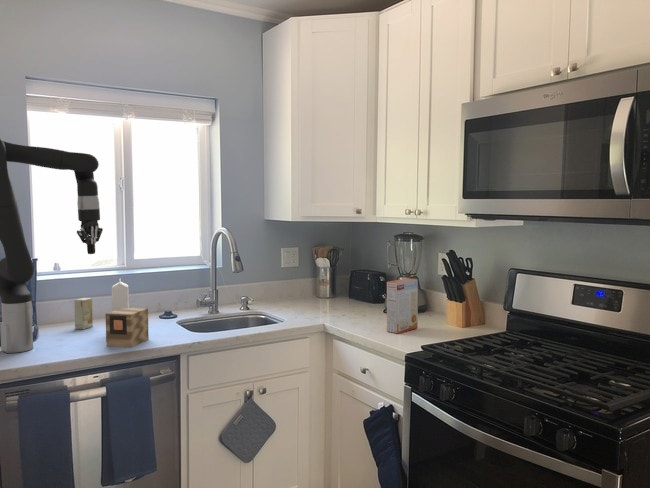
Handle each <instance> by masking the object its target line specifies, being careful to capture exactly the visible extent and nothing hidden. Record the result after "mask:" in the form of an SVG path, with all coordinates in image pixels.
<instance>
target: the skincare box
mask: <svg viewBox="0 0 650 488" xmlns="http://www.w3.org/2000/svg"><path fill="white" fill-rule="evenodd" d="M93 320H94V319H93V298H91V297H82V298H77V299H74V329H75V330H76V329H77V330H85V329H88V328H92V327H93V326H94V325H93V324H94V323H93Z"/></svg>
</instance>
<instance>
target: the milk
mask: <svg viewBox="0 0 650 488" xmlns="http://www.w3.org/2000/svg"><path fill="white" fill-rule="evenodd" d="M121 280H122V279H121V277H120V278H119V281H118V282H117V283H115V284H113V285H112V286H111V312H112V311H115V310H118V309H121V308H124V307H127V308H130V297H129V295H130V291H129V284H127V283H125V282H123V281H121Z"/></svg>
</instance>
